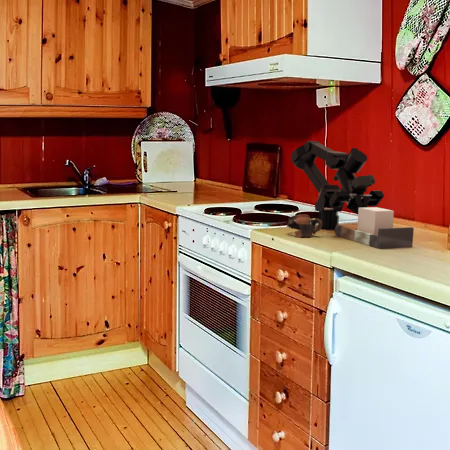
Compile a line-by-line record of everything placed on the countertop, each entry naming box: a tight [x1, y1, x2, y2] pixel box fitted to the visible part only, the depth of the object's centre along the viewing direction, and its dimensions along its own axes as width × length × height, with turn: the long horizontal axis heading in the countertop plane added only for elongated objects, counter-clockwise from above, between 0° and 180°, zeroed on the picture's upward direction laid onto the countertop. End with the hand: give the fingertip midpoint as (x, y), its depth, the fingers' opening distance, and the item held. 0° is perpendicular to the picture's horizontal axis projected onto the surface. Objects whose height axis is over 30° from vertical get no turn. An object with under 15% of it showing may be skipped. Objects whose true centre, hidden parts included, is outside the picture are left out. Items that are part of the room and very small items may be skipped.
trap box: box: [334, 224, 415, 250], centre depth 202 cm, size 24×12×6 cm, turn 23°
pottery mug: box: [286, 213, 323, 239], centre depth 209 cm, size 12×10×8 cm
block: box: [356, 206, 395, 236], centre depth 201 cm, size 9×7×8 cm
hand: (366, 218), depth 205 cm, fingers closed
